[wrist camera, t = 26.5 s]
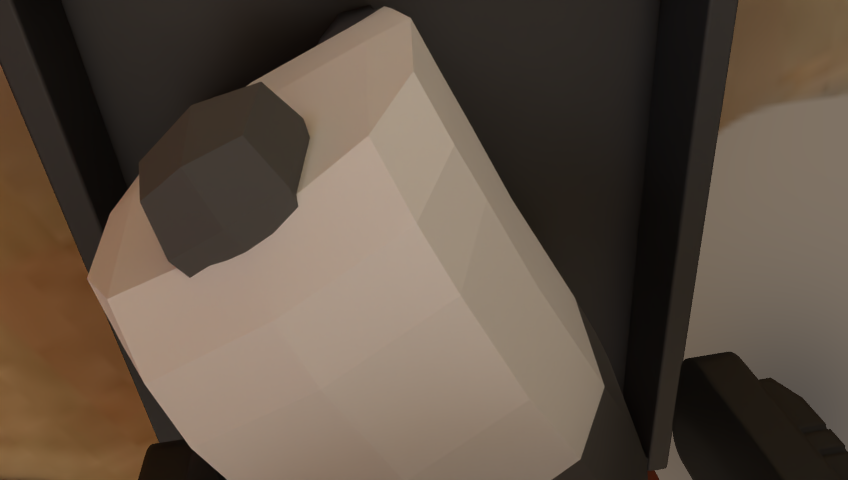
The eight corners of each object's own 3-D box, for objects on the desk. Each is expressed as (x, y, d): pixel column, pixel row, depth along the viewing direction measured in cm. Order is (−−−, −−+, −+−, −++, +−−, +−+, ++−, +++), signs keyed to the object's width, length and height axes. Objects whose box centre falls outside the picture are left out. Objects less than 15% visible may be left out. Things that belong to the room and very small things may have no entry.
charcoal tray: (682, -139, 14) (761, -138, 11) (628, 400, 21) (667, 468, 19) (20, -70, 13) (-50, -52, 10) (217, 469, 20) (203, 550, 18)
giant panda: (131, 82, 13) (-160, 435, 5) (358, -73, 13) (432, 58, 4) (469, 467, 21) (567, 868, 12) (627, 385, 20) (844, 757, 12)
